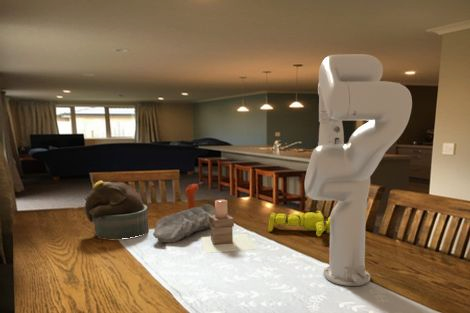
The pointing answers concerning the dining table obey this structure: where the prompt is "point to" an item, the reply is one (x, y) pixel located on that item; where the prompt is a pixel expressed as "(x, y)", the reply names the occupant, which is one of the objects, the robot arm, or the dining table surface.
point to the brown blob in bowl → (116, 211)
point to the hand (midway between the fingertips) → (329, 168)
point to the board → (238, 244)
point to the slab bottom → (221, 240)
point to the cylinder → (221, 209)
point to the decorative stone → (183, 223)
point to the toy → (302, 221)
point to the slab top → (221, 222)
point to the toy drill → (192, 194)
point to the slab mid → (222, 231)
